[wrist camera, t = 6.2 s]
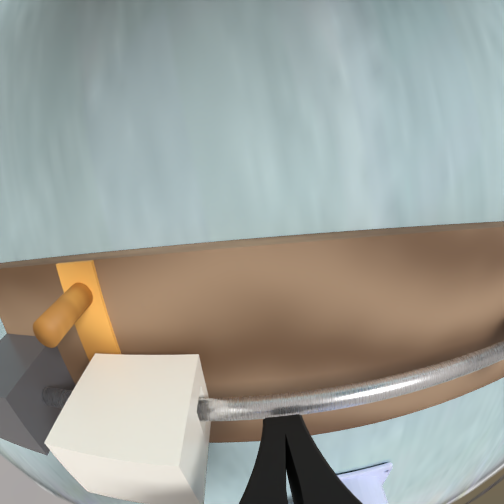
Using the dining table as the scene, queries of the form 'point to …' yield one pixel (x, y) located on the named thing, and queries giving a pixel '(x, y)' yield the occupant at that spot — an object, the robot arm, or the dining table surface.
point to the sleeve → (136, 429)
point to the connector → (29, 390)
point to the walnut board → (279, 312)
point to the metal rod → (327, 391)
